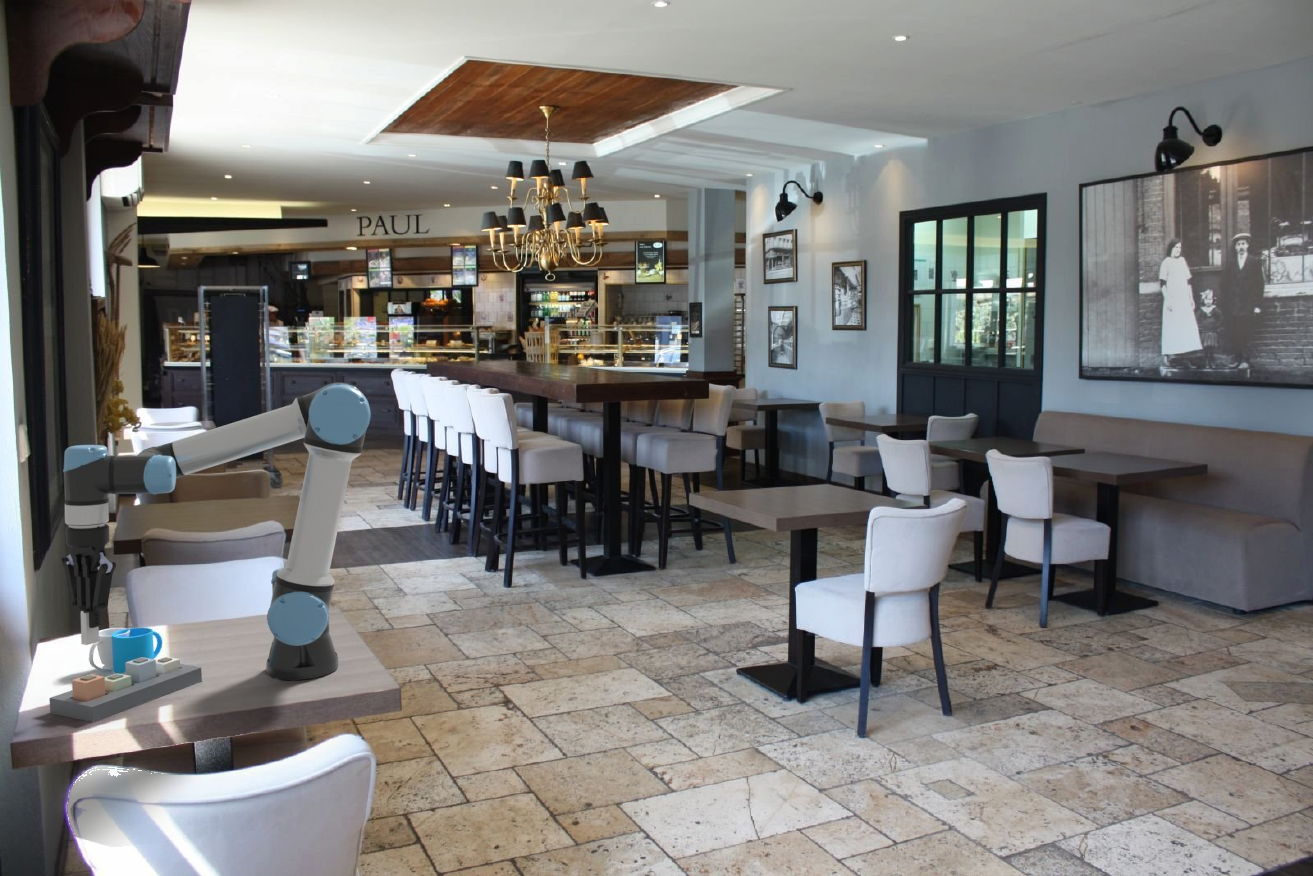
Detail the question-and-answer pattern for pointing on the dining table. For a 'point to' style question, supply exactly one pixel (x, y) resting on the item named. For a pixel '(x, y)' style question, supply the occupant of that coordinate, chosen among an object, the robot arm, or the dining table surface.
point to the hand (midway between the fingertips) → (90, 642)
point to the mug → (133, 647)
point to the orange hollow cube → (88, 687)
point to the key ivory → (167, 665)
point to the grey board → (125, 695)
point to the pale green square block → (117, 682)
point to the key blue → (141, 669)
